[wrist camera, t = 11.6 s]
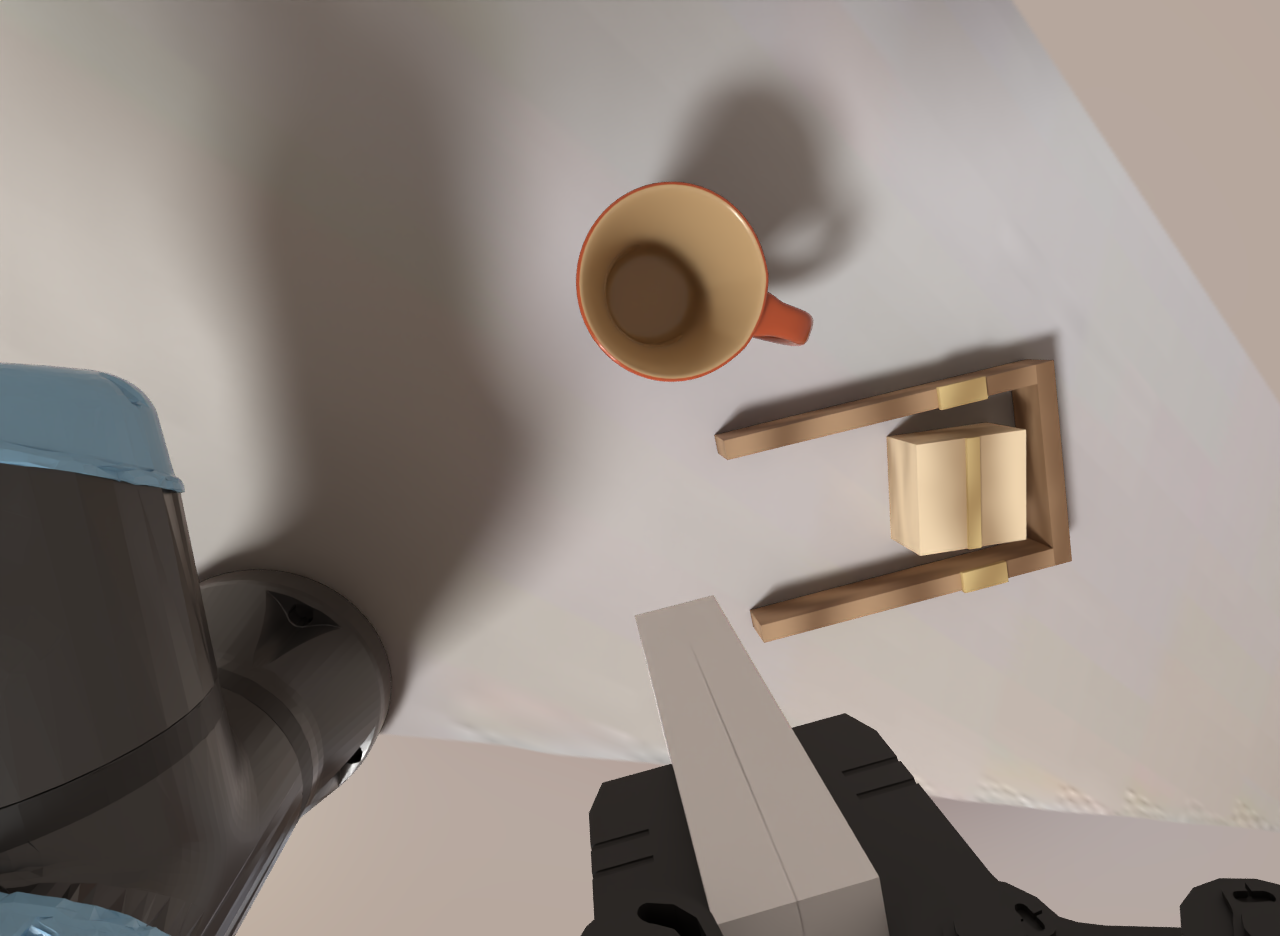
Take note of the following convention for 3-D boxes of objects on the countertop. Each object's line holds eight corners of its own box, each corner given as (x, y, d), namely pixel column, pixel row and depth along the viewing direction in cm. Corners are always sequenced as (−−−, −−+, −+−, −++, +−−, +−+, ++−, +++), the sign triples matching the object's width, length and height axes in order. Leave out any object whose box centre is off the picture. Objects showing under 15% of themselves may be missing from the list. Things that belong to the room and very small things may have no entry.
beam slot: (753, 627, 44) (765, 646, 42) (714, 433, 42) (724, 439, 39) (1044, 550, 46) (1075, 563, 43) (1025, 357, 43) (1057, 358, 40)
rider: (889, 537, 45) (922, 556, 41) (884, 435, 43) (918, 445, 39) (986, 522, 45) (1028, 540, 41) (985, 422, 44) (1028, 430, 40)
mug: (556, 349, 40) (553, 351, 30) (595, 202, 38) (606, 152, 28) (741, 403, 42) (797, 422, 32) (785, 265, 40) (858, 239, 30)
